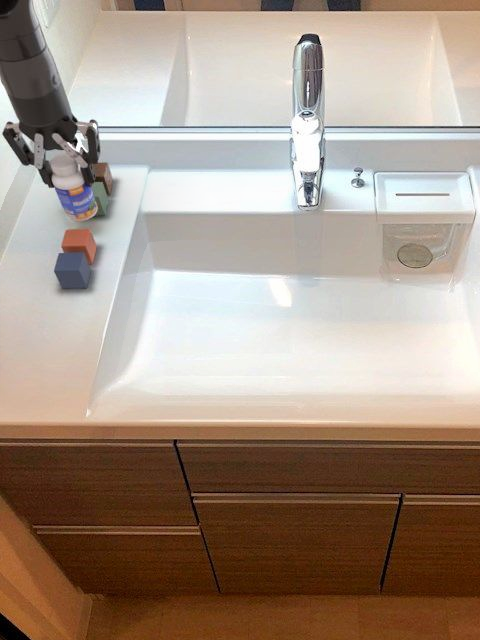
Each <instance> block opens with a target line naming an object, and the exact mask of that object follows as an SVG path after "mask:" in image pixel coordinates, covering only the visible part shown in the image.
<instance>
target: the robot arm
mask: <svg viewBox="0 0 480 640" xmlns="http://www.w3.org/2000/svg"><path fill="white" fill-rule="evenodd" d="M0 83H1V85H2V86H3V87H4V90H5V92H6V94H7V97H8V99H9V102H10V104H11V106H12V108H13V111H14V114H15V116H16V119H17V120H18V122H15V123H14V122H12V121H6V124H5V125H4V128H3V130H2V134H1V135H2V136H3V138H4V139H5V141H6V143H7V144H8V145H9V147H10V149H11V150H12V151H13V153H14V154H15V156H16V157H17V159H18V160H19V161H20V163H21V164H22V165H23V166H26V167H27V166H34V168H36V169H37V171H38V173H39V176H40V178H41V180H42V183H44V185H47V188H49V189H55V188H54V185H53V182H52V174H53V171H52V168H51V165H50V160H49V159H48V160H47V152H49V151H51V152H52V151H54V150H57V151H65V152H64V153H67V154H68V155H69V156H70V157H71V158H74V159H75V160H76V162H77V163H78V165H79V166H80V170H81V173H82V176H83V178H84V181H85V184H86V186H87V187H92V184H93V183H94V181H95V177H96V174H95V172H94V169H93V166H92V164H97V163H99V159H100V157H101V153H102V152H101V142H100V133H99V124H98V123H99V122H98V121H97V120H96V119H93V118H92V119H90V120H89V121H88V122H87V121H79V119H77V117H76V116H75V115H74V114H73V112H72V108H71V104H70V102H69V98H68V96H67V93H66V90H65V87H64V84H63V82H62V79H61V76H60V72H59V69H58V67H57V63H56V61H55V59H54V55H53V54H52V52H51V50H50V48H49V46H48V43H47V41H46V38H45V35H44V32H43V29H42V25H41V23H40V21H39V17H38V16H37V13H36V11H35V6H34V2H33V0H0ZM77 132H80V133H81V134H82V137H83V138H84V140H87V148H88V150H87V149H86V147H85V146H84V145H83V142H82V140H81V138H80V137H79V136H78V135H77ZM23 135H24V136H25V137H27V138H28V139H29V140H30V141H31V142H32V143H34V145H33V151H32V149H31V148H30V146H29V144H28V143H27V142H26V140H25V138H24V137H23Z"/></svg>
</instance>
